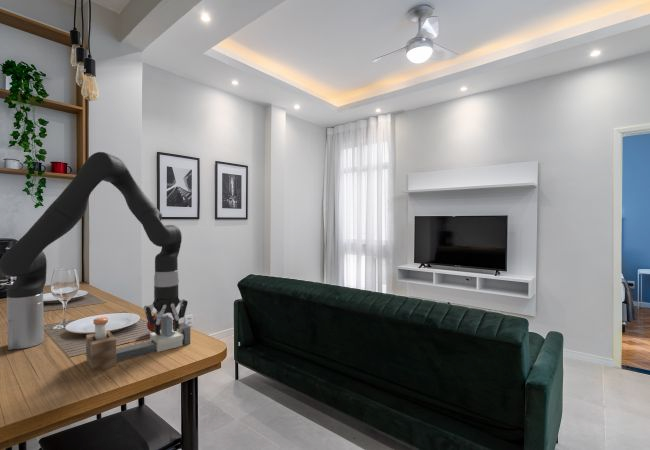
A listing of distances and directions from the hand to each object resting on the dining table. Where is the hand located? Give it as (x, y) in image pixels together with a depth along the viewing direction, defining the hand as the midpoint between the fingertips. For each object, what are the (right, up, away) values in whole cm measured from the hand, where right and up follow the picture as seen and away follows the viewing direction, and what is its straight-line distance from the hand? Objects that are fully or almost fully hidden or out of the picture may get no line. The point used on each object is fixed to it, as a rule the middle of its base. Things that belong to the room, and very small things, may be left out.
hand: (166, 332), depth 115 cm
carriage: (0, -5, 0) cm, 5 cm away
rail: (-4, -5, -4) cm, 7 cm away
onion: (-10, -4, +12) cm, 16 cm away
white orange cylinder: (-14, 0, -13) cm, 19 cm away
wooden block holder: (-14, -5, -13) cm, 20 cm away
